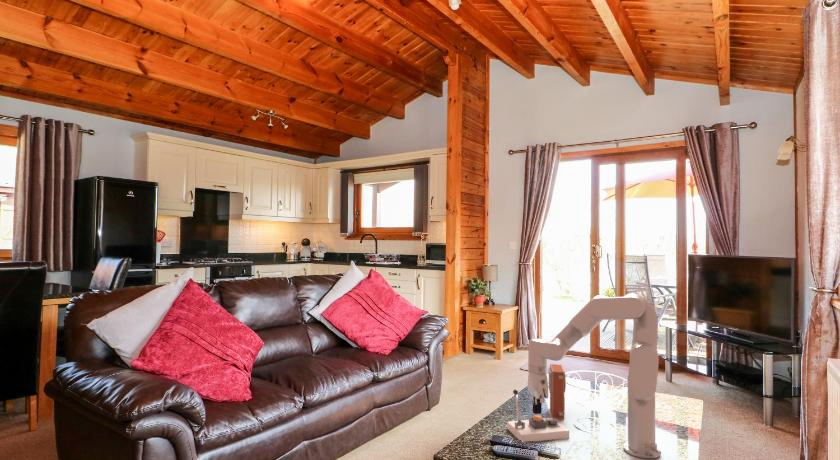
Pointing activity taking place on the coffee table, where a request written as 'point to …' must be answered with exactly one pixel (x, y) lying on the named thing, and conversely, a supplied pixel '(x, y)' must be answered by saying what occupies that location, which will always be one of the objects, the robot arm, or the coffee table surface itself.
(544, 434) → the switch board
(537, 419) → the push button
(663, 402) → the coffee table surface
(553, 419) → the rocker switch
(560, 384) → the control panel
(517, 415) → the toggle lever
